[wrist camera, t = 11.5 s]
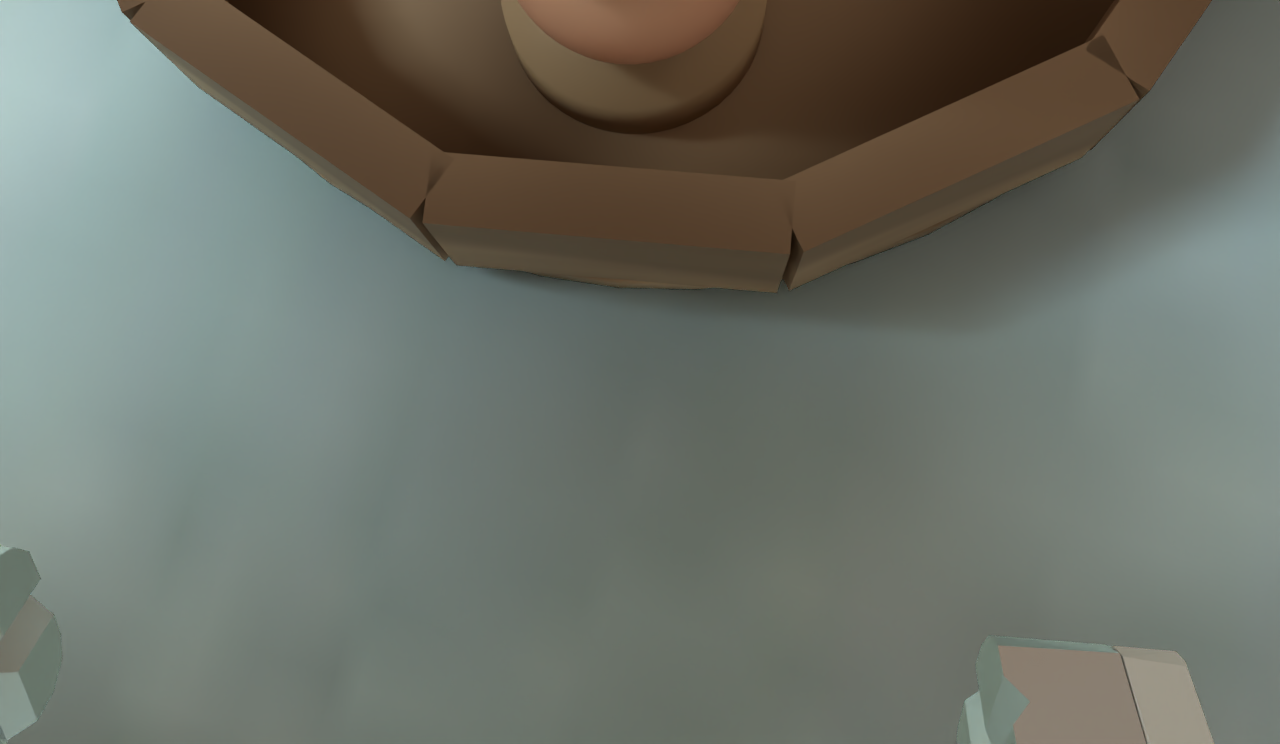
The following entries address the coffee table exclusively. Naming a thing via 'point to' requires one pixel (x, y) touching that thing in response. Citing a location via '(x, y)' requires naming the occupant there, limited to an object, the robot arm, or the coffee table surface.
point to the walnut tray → (689, 154)
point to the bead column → (635, 57)
